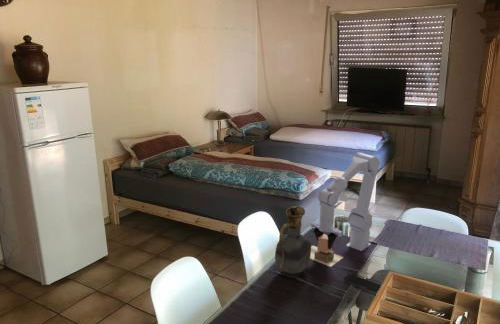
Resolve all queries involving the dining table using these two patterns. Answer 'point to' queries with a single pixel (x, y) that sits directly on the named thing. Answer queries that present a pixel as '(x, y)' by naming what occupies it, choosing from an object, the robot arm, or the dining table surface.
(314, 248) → the board
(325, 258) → the base block
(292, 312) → the dining table surface
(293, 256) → the pitcher
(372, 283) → the phone
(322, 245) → the top block
